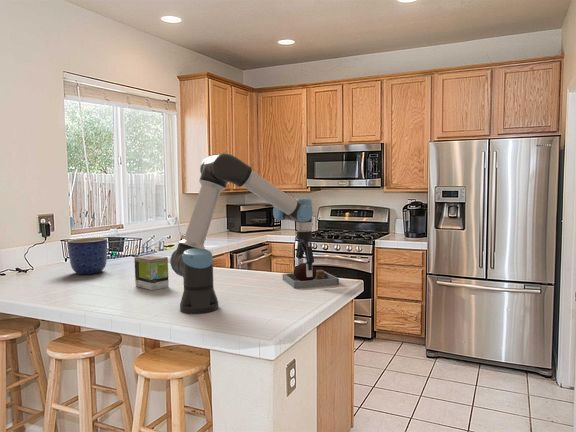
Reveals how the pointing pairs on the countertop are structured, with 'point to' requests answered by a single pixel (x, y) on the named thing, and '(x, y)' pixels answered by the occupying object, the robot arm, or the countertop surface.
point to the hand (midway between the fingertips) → (305, 274)
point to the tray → (297, 283)
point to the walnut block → (319, 274)
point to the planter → (88, 254)
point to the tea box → (151, 272)
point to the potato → (303, 272)
